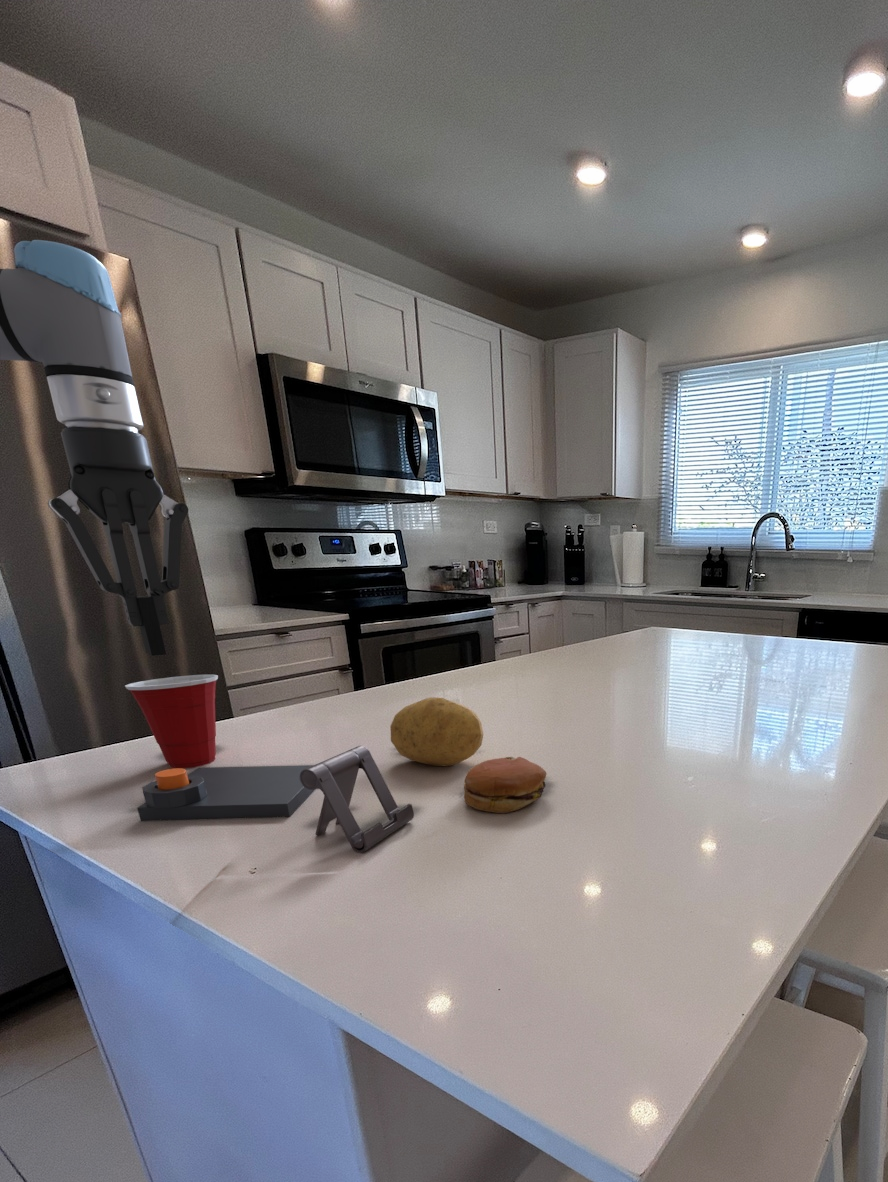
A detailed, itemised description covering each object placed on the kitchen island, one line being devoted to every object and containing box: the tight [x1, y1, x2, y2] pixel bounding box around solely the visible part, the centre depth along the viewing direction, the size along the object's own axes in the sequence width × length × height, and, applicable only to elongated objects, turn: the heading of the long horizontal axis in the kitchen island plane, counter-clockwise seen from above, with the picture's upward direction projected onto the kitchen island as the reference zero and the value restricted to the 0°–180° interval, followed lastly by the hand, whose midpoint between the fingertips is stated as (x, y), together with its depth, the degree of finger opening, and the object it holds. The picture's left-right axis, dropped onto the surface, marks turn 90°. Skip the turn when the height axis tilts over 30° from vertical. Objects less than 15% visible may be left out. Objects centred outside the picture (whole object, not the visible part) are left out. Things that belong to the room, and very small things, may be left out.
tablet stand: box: [300, 745, 415, 854], centre depth 69 cm, size 9×8×8 cm
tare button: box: [154, 768, 189, 790], centre depth 74 cm, size 3×3×2 cm
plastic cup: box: [124, 674, 219, 769], centre depth 91 cm, size 11×11×12 cm
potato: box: [390, 696, 484, 767], centre depth 91 cm, size 10×13×9 cm
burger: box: [463, 756, 548, 814], centre depth 79 cm, size 10×9×5 cm
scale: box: [136, 764, 316, 822], centre depth 79 cm, size 16×14×4 cm
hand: (156, 653), depth 78 cm, fingers closed
